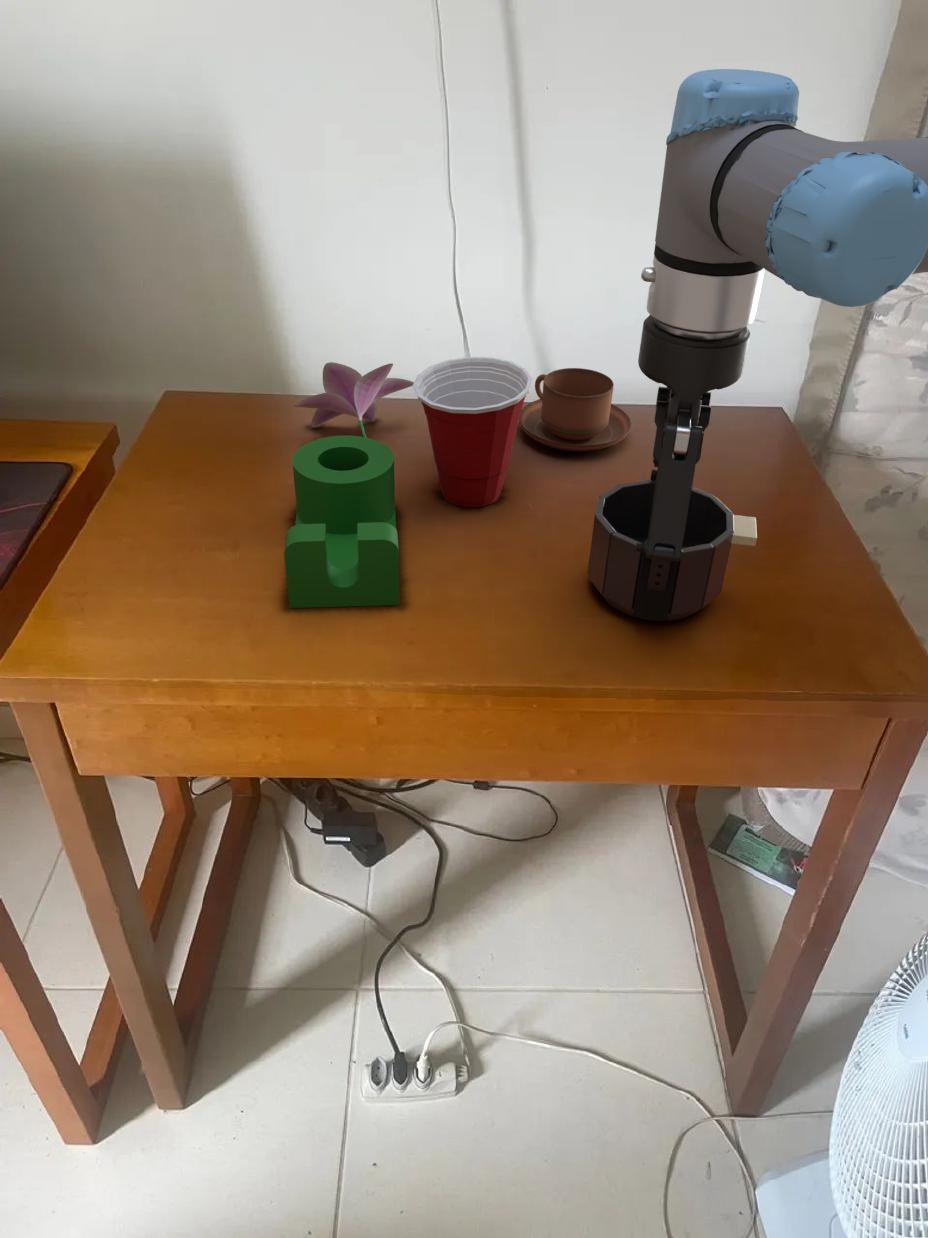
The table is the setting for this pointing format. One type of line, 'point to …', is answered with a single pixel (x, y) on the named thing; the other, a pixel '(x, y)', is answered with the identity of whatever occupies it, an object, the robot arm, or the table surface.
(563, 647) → the table surface
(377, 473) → the green bracket
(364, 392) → the lily
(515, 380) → the plastic cup
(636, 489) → the cooking pot
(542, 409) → the cup and saucer
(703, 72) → the robot arm
